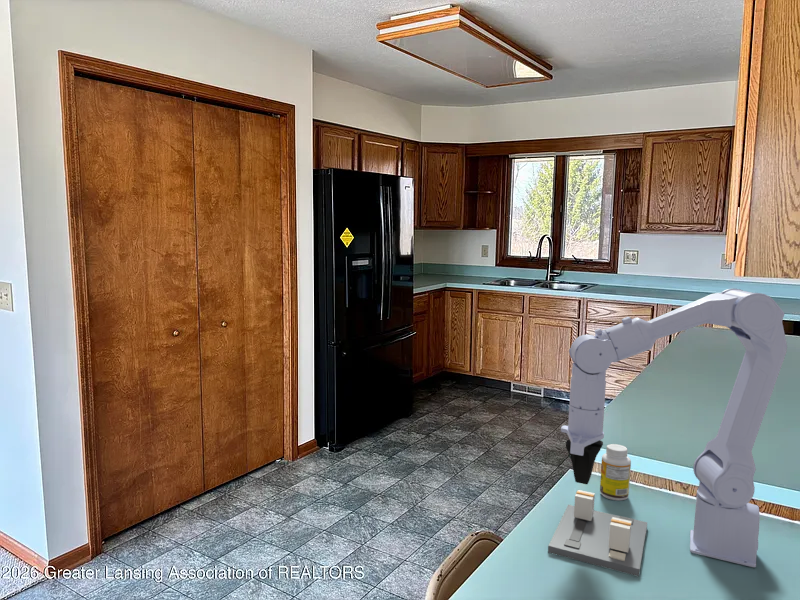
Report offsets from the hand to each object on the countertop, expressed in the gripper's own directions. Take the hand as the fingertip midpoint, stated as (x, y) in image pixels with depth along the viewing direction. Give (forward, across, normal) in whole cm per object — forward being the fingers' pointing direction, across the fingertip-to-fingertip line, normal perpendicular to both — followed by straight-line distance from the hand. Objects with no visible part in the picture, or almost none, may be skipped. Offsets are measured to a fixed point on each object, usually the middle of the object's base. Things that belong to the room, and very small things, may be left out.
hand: (582, 481), depth 100 cm
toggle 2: (+8, +3, +7) cm, 11 cm away
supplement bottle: (+10, -20, +3) cm, 23 cm away
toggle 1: (+8, -5, 0) cm, 10 cm away
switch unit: (+10, 0, +3) cm, 10 cm away
